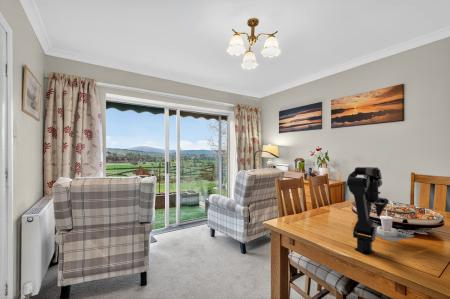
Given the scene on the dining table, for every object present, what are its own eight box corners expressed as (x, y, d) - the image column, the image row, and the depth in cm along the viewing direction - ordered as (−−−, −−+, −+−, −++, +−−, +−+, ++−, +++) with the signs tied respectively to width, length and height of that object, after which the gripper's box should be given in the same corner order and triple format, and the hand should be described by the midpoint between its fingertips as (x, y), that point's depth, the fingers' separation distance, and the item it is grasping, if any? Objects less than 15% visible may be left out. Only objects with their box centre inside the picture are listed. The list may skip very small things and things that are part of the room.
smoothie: (382, 234, 126) (381, 211, 126) (378, 230, 132) (377, 208, 132) (395, 235, 124) (394, 211, 124) (390, 231, 130) (390, 208, 130)
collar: (390, 237, 122) (390, 233, 122) (373, 231, 131) (373, 227, 131) (401, 234, 125) (401, 230, 126) (383, 229, 134) (383, 225, 134)
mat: (393, 242, 116) (393, 242, 116) (361, 231, 133) (361, 230, 133) (414, 236, 124) (414, 235, 124) (382, 227, 140) (382, 226, 140)
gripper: (368, 186, 130) (369, 211, 130) (347, 188, 123) (347, 215, 123) (388, 189, 120) (389, 216, 120) (366, 192, 113) (366, 221, 113)
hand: (372, 217), depth 119 cm, fingers open, 9 cm apart
